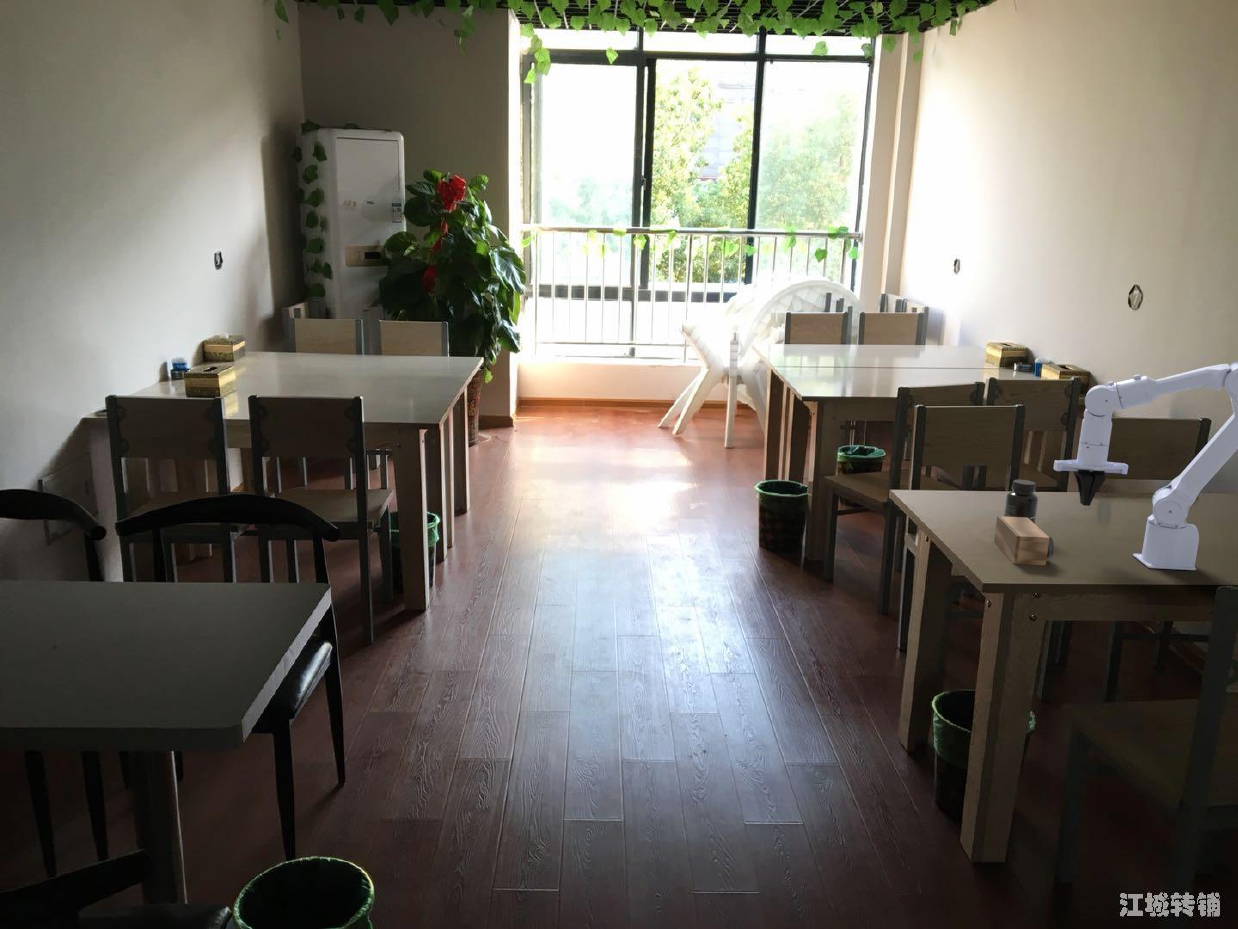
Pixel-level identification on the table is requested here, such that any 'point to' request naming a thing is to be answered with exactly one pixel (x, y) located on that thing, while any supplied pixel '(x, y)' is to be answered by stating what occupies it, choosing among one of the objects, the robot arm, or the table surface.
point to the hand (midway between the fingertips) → (1085, 504)
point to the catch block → (1021, 540)
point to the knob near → (1050, 547)
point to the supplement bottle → (1022, 500)
